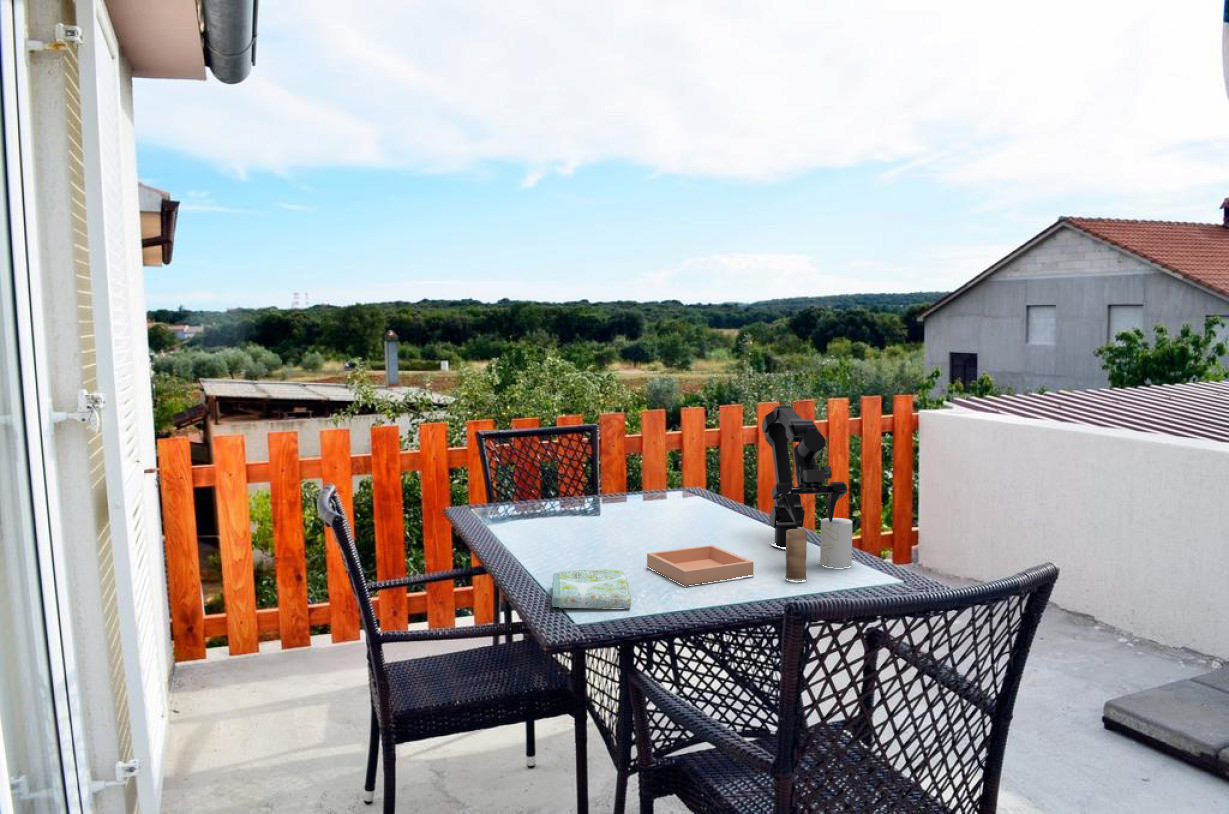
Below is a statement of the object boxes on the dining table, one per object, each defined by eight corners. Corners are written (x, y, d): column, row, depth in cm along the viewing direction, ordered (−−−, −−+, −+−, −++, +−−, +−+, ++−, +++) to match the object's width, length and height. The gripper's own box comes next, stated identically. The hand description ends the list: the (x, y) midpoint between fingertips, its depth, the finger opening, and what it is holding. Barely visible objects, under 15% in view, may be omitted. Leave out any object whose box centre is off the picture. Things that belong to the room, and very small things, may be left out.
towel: (627, 585, 232) (626, 565, 232) (631, 612, 211) (631, 590, 211) (553, 587, 232) (553, 566, 231) (550, 614, 211) (550, 591, 210)
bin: (647, 568, 247) (647, 553, 247) (711, 559, 256) (712, 545, 255) (685, 587, 229) (685, 571, 229) (753, 577, 238) (753, 561, 237)
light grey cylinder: (814, 563, 251) (814, 519, 250) (840, 560, 254) (840, 516, 253) (831, 570, 244) (832, 525, 242) (857, 567, 246) (858, 522, 245)
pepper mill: (781, 579, 236) (781, 530, 235) (798, 576, 238) (798, 528, 237) (793, 584, 231) (794, 534, 230) (810, 581, 234) (811, 532, 233)
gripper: (778, 455, 239) (785, 513, 233) (849, 453, 241) (858, 512, 235) (768, 469, 249) (775, 526, 243) (836, 468, 251) (845, 524, 245)
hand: (813, 522), depth 241 cm, fingers open, 9 cm apart
